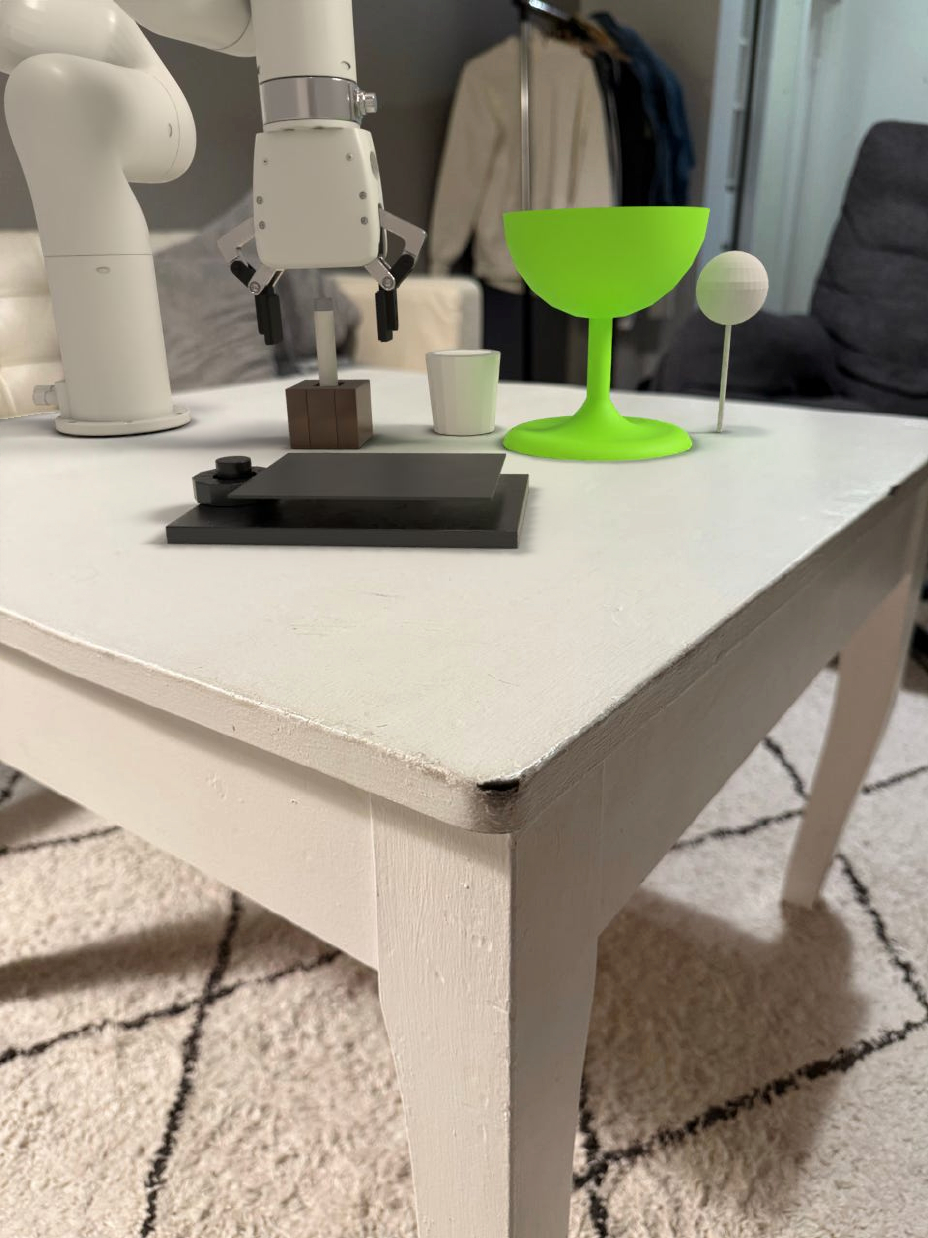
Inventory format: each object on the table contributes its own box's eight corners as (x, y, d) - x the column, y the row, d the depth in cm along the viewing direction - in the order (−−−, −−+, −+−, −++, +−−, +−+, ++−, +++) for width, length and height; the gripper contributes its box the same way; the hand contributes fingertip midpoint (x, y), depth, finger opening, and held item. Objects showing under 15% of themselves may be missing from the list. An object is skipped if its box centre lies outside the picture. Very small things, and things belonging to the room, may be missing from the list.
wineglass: (546, 421, 88) (549, 217, 81) (712, 432, 81) (731, 211, 74) (470, 452, 75) (466, 212, 68) (661, 468, 68) (678, 203, 61)
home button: (212, 484, 57) (209, 462, 56) (224, 476, 59) (222, 455, 58) (246, 484, 56) (244, 462, 56) (257, 476, 59) (255, 455, 58)
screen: (227, 498, 52) (227, 495, 52) (288, 455, 63) (288, 452, 63) (491, 500, 50) (491, 497, 50) (506, 456, 61) (506, 453, 61)
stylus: (321, 443, 80) (310, 298, 75) (326, 440, 81) (315, 297, 77) (339, 443, 80) (329, 298, 75) (343, 440, 81) (334, 297, 77)
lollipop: (758, 438, 78) (777, 249, 73) (687, 438, 79) (701, 251, 74) (749, 426, 84) (766, 250, 78) (683, 425, 85) (695, 251, 79)
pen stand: (290, 448, 78) (284, 388, 76) (308, 435, 84) (304, 379, 82) (359, 448, 77) (355, 388, 76) (373, 435, 83) (370, 379, 81)
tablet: (154, 544, 52) (148, 502, 51) (237, 487, 65) (233, 452, 64) (517, 550, 50) (517, 505, 49) (528, 489, 63) (529, 453, 62)
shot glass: (494, 437, 81) (493, 355, 79) (419, 435, 82) (416, 355, 80) (506, 423, 87) (506, 347, 85) (436, 422, 89) (434, 348, 86)
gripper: (427, 114, 74) (437, 336, 80) (220, 125, 76) (245, 341, 82) (412, 99, 67) (424, 343, 73) (185, 112, 69) (215, 349, 75)
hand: (329, 342), depth 77 cm, fingers open, 9 cm apart
